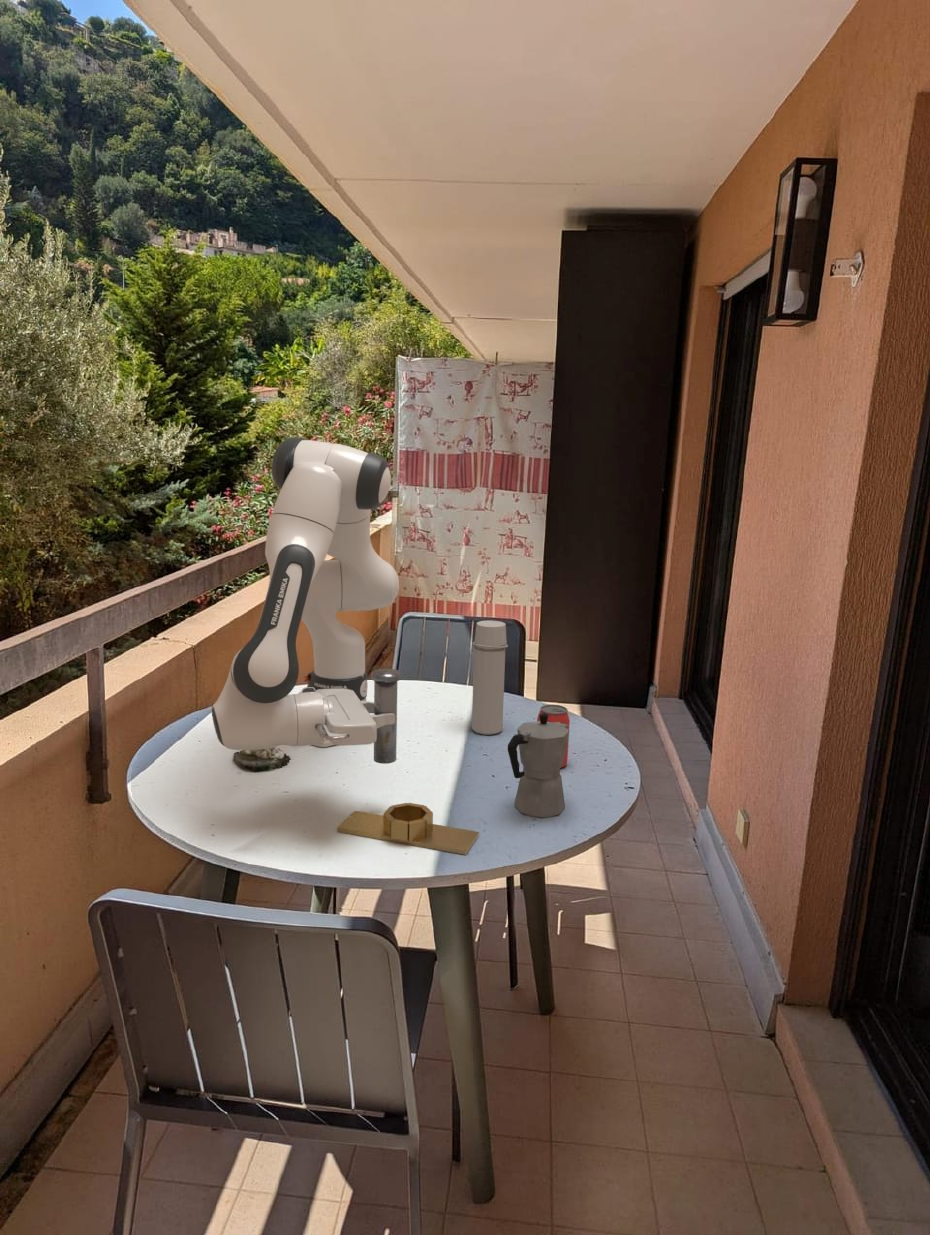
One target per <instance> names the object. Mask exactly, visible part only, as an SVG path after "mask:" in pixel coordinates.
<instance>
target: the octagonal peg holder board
mask: <svg viewBox="0 0 930 1235" xmlns="http://www.w3.org/2000/svg"><path fill="white" fill-rule="evenodd" d="M433 822H434V812H433V811H432V810H431V809H430V808H428V806H426V805H424V804H420V803H419V804H418V803H413V802H405V803H404V802H403V803H398V804H394V805H390V806H389V807H387V809H385V811H384V812H383V814H378V813H377V814H376V813H372V812H365V811H360V810H354V811H353V812H352V813H350V815H349V816H347V817H346V819H344V820H343V821H341V823H340V824H339V825H338V826H337V830H336V831H337V833H341V834H342V833H344V834H349V835H353V836H357V837H358V836H359V837H364V838H370V839H375V840H380V841H381V840H382V841H386V842H392V843H398V844H404V845H408V846H415V847H420V848H425V849H430V850H437V851H441V852H447V853H452V854H457V855H463V856H467V854H469V851H470V850H471V848H472V847H473V845H474V844H475V843H476V841H477V840H478V838H479V836H480V832H479V831H476V830H472V829H471V830H469V829H464V828H458V827H454V826H447V825H443V824H436V823H433Z"/></svg>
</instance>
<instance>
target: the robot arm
mask: <svg viewBox="0 0 930 1235" xmlns="http://www.w3.org/2000/svg"><path fill="white" fill-rule="evenodd" d="M271 476H272V477H271V478H272V479H273V482H274V484H275V485H276V487H277V489H280V491H279V493H278V496H277V498H276V500H275V503H274V506H273V509H272V513H271V516H270V519H269V523H268V527H267V532H266V538H265V547H264V548H265V549H264V551H265V552H264V555H265V558H266V561H267V564H268V569H269V570H268V571H269V581H268V582H269V583H268V589H267V592H266V595H265V600H264V603H263V607H262V609H261V613H260V616H259V621H258V623H257V627H256V629H255V632H254V633H253V635H252V637H251V638H250V640H249V641H248V642H247V643H246V644H245V645H244V646H243V647H242V648H241V649H239V650H238V651H237V653H236V654H235V655H234V657H233V660H232V661H231V664H230V668H229V673H228V676H227V679H226V682H225V684H224V686H223V689H222V690H221V693H220V695H219V696H218V698H217V699H216V701H215V702H214V703H213V705H212V708H211V717H212V722H213V727H214V731H215V734H216V737H217V740H218V741H219V743H220V744H221V745H222V746H223V747H225V749H226V748H227V749H228V750H234V751H242V750H260V749H270V748H273V747H275V748H276V747H279V746H288V747H302V746H315V747H318V748H327V747H332V746H361V745H362V746H366V745H371V744H374V742H376V738H377V728H379V727H382V726H384V725H388V724H394V723H395V715H394V713H393V712H383V714H380V715H375V714H374V701H370V700H369V701H368V700H367V697H368V689H369V688H368V686H369V685H368V671H367V670H366V641H365V637H364V636H363V634H361V632H360V631H358V630H357V629H356V628H354V627H352V626H350V625H348V624H345V623H344V622H341V621H340V620H338V618H337V613H338V612H347V611H348V612H350V611H353V612H354V611H372V610H377V609H382V608H385V607H391V606H392V604H393V603H394V601H395V600H396V599H397V597H398V594H399V591H400V580H399V575H398V572H397V571H396V569H395V567H394V566H393V565H392V564H390V563H389V561H386V560H385V559H383V558H381V556H380V555H379V554H378V553H377V552H376V551H375V549H374V548H373V544H372V540H371V512H372V510H375V509H376V508H378V507H380V506H382V505H383V503H384V501H385V499H386V498H387V496H388V494H389V491H390V487H391V483H392V478H391V467H390V464H389V463H388V461H387V460H386V459H385V458H384V457H383V456H382V455H379V454H377V453H374V452H370V451H369V452H366V451H364V450H362V449H361V450H360V449H358V448H355V447H352V446H349V445H345V444H340V443H333V442H332V443H331V442H326V441H321V440H311V439H306V438H305V437H286V438H285V439H284V440H283V441H282V442H280V443H279V444H278V446H277V447H276V450H275V452H274V454H273V458H272V463H271ZM327 555H328V556H330V557H332V558H334V559H328V560H326V558H327V557H326V556H327ZM301 621H302V622H303V623H304V625H305V626H306V628H307V629H308V631H309V635H310V638H311V642H312V648H313V662H314V663H313V670H312V671H311V672H308V673H307V675H305V676H304V677H303V682H304V683H306V682H307V685H306V686H307V687H303V688H302V689H301V690H300V692H298V693H294V694H293V693H292V694H290V693H291V692H292V691H293V689H294V688H295V686H296V684H297V682H298V679H299V674H300V673H299V672H300V668H299V660H298V652H297V636H298V632H299V629H300V624H301Z"/></svg>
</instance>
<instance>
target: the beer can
mask: <svg viewBox="0 0 930 1235" xmlns="http://www.w3.org/2000/svg"><path fill="white" fill-rule="evenodd" d="M539 710H540V711H539V712H538V715H537V719H536V721H540V716H539V715H540V714H543V713H545V714H548V715H549V716H548V720H547V722H551V723H552V722H560V723H561V722H563V723H565V724H566V725H568V726H567V727H566V728H567V729H568V730H569V731H570V723H571V722H570V716H569V715H570V714H569V713H568V711H569V710H568V708H567V707H566V706H563V705H560V704H545V705H542V706H541V707H540V708H539ZM569 739H570V735H569V736H568V741H567V746H566V751H565V755H564V760H563V764H562V766H561V767H560V769H562V768H563V767H566V766H567V764H568V757H569Z"/></svg>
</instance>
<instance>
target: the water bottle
mask: <svg viewBox="0 0 930 1235" xmlns="http://www.w3.org/2000/svg"><path fill="white" fill-rule="evenodd" d="M474 635H475V636H474V641H473V642H472V645H473V646H474V647H473V669H472V673H473V675H472V703H471V705H472V706H471V707H472V708H471V710H472V711H471V729H472V730H473V732H475V733H476V734H480V735H485V736H491V735H497V734H499V733H501V732H502V731H503V726H504V725H503V724H504V695H505V672H506V671H505V669H506V668H505V666H506V665H505V664H506V648H508V647H509V645H508V644H507V625H506V623H505V622H503V621H499V620H480V621H478V622H476V627H475V634H474Z"/></svg>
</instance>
